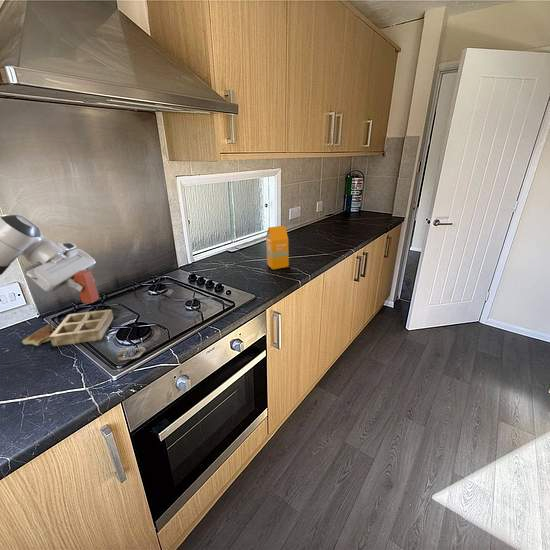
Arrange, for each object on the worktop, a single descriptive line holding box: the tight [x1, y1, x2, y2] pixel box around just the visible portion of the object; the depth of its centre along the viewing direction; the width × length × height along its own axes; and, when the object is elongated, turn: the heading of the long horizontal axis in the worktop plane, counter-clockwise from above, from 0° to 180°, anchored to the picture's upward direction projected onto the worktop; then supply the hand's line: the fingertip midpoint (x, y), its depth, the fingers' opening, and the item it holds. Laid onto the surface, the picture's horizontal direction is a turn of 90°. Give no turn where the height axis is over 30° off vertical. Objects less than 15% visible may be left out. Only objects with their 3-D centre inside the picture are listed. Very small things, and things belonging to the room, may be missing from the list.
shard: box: [21, 321, 54, 347], centre depth 95 cm, size 11×8×2 cm
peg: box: [73, 269, 100, 304], centre depth 95 cm, size 4×4×10 cm
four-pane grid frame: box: [49, 308, 114, 347], centre depth 97 cm, size 14×14×4 cm
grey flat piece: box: [115, 346, 147, 362], centre depth 85 cm, size 7×8×2 cm
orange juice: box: [265, 225, 290, 270], centre depth 144 cm, size 8×9×20 cm
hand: (88, 285), depth 95 cm, fingers closed on peg, 3 cm apart
